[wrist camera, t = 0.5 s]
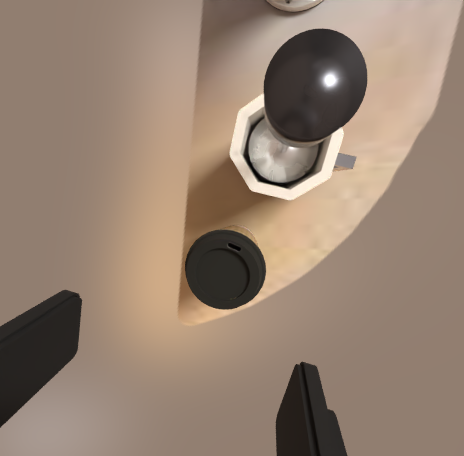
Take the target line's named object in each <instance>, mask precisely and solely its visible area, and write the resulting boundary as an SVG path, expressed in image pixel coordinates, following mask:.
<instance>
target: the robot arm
mask: <svg viewBox="0 0 464 456" xmlns="http://www.w3.org/2000/svg"><path fill="white" fill-rule="evenodd" d="M266 1H267V2H269V3H270V4H271V5H272V6H274V7H276V8H278V9H280V10H284V11H296V12H297V11H302V10H306V9H309V8H311V7H313V6H315V5H317V4H318V3H320V2H321V1H323V0H266ZM287 3H289V4H287ZM81 305H82V299H81V298H80V296H79V294H77V293H74V292H71V291H68V290H63V291H61V292H59V293H57V294H56V295H54V296H52V297H50V298H49V299H47V300H45V301H43V302H42V303H40V304H38V305H37V306H35V307H33V308H31V309H30V310H28V311H26V312H25V313H23V314H21V315H19V316H18V317H16V318H14V319H12V320H11V321H9V322H7V323H5V324H4V325H2V326H0V427H1V426H2V425H3V424H4V423H6V422H7V421H8V420H9V419H10V418H11V417H12V416H13V415H14V414H15V413H16V412H17V411H18V410H19V409H20V408H21V407H22V406H23V405H24V404H25V403H27V401H29V400H30V399H31V398H32V397H33V396H34V395H35V394H36V393H37V392H38V391H39V390H40V389H41V388H42V387H43V386H44V385H45V384H46V383H47V382H48V381H50V380H51V379H52V378H53V377H54V376H55V375H56V374H57V373H58V372H59V371H60V370H61V369H62V368H63V367H64V366H65V365H66V364H67V363H68V362H69V361H71V359H73V357H74V356H75V354H76V352H77V349H78V340H79V328H80V317H81ZM276 446H277V456H347V453H346V450H345V446H344V442H343V439H342V435H341V431H340V428H339V425H338V421H337V417H336V415H335V413H334V411H332V410H329V409H327V405H326V401H325V397H324V393H323V389H322V385H321V381H320V377H319V373H318V369H317V367H316V366H315V365H311V364H308V363H305V362H301V363H300V365H298V364H296V365H295V367H294V370H293V372H292V375H291V378H290V381H289V383H288V386H287V389H286V392H285V395H284V397H283V400H282V403H281V406H280V408H279V411H278V414H277V419H276Z"/></svg>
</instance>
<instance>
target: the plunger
mask: <svg viewBox="0 0 464 456" xmlns="http://www.w3.org/2000/svg"><path fill="white" fill-rule="evenodd" d="M366 87H367V68H366V64H365V60H364V58H363V55H362V53H361V51H360V50H359V48H358V47H357V46H356V44H355V43H354V42H353V41H352V40H351V39H350V38H348V37H347V36H345V35H344V34H342V33H339V32H337V31H334V30H330V29H313V30H308V31H305V32H302V33H300V34H298V35H295V36H294V37H292V38H291V39H289V40H288V41H287V42H286V43H284V44H283V45H282V46H281V47H280V48H279V50H278V51H277V52H276V53H275V55H274V56H273V58H272V60H271V62H270V64H269V66H268V68H267V71H266V75H265V80H264V114H265V118H264V119H263V120H261V121H260V122H259V123H258V125H257V126H256V127H255V129H254V131H253V132H252V135H251V137H250V141H249V156H250V160H251V163H252V165H253V167H254V168H255V170H256V171H257V172H258V173H259V174H260V175H261V176H263V177H264V178H266V179H268V180H270V181H273V182H282V183H283V182H290V181H293V180H296V179H298V178H300V177H301V176H303V175H304V174H305V173H306V172H307V171H308V170H309V169H310V168H311V166H312V165H313V163H314V161H315V159H316V156H317V152H318V143H320V142H321V141H323V140H324V139H326V138H327V137H328V136H330V135H331V134H333V133H334V132H335V131H337V130H338V129H340V128H341V127H342V126H344V125H345V124H346V123H347V122H348V121H349V120H350V119H351V118H352V117H353V116H354V115H355V113H356V112H357V110H358V109H359V107H360V105H361V103H362V101H363V98H364V95H365V91H366Z"/></svg>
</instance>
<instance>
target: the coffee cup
mask: <svg viewBox="0 0 464 456" xmlns="http://www.w3.org/2000/svg"><path fill="white" fill-rule="evenodd" d="M185 272H186V278H187V281H188V284H189V287H190V289H191V290H192V292H193V294H194V295H195V296H196V297H197V298H198V299H199V300H200V301H201V302H203V303H204V304H206V305H208V306H210V307H213V308H216V309H233V308H237V307H239V306H242V305H244V304H246V303H248V302H249V301H251V300H252V299H253V298H254V297H255V296H256V295H257V294H258V293H259V291H260V289H261V288H262V286H263V283H264V280H265V275H266V265H265V260H264V257H263V255H262V253H261V251H260V249H259V247H258V244H257V241H256V239H255V237H254V235H253V233H252V232H251V231H250V230H249V229H248V228H246V227H244V226H241V225H233V226H229V227H226V228H223V229H221V230H215V231H211V232H208V233H206V234H204V235H202V236H201V237H200V238H199V239H197V240H196V241H195V242H194V244H193V245H192V246H191V248H190V250H189V252H188V254H187V258H186V262H185Z"/></svg>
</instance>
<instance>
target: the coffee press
mask: <svg viewBox="0 0 464 456" xmlns="http://www.w3.org/2000/svg"><path fill="white" fill-rule="evenodd" d="M239 111H240V112H238V116H237V121H236V125H235V130H234V134H233V139H232V144H231V148H230V153H229V154H230V157H231V159H232V160H233V162H234V164H235V165H236V167H237V169H238V170H239V172H240V174H241V175H242V177H243V179H244V180H245V182H246V184H247V185H248V187H249V189H250V190H252V191H253V192H258V193H262V194H266V195H270V196H274V197H278V198H283V199H287V200H293V199H295V198H297V197H299V196H300V195H302V194H304V193H305V192H307V191H309V190H311V189H312V188H314V187H316V186H317V185H319V184H321V183H323V182H324V181H326V180H328V179H329V177H331V174H332V172H333V171H340V170H348V169H353V166H354V163H355V160H356V157H355V156H350V155H346V154H341V153H338V152H339V149H340V145H341V142H342V139H343V136H344V134H342V133H344V132H343V130H342V128H340V129H338V130H337V131H335V132H334V133H333V134H331V135H330V136H328V137H327V138H326V139H324V140H323V141H321V142H320V143H318V152H317V156H316V159H315V161H314V163H313V165H312V166H311V168H310V169H309V170H308V171H307V172H306V173H305V174H304V175H303V176H301V177H300V178H298V179H296V180H293V181H290V182H283V183H282V182H273V181H270V180H268V179H266V178H264V177H263V176H261V175H260V174H259V173H258V172H257V171H256V170H255V168H254V167H253V165H252V163H251V160H250V156H249V141H250V137H251V135H252V132H253V131H254V129H255V127H256V126H257V125H258V123H259V122H260V121H261V120H263V119H264V118H265V114H264V93H263V94H261V95H260V96H259V97H257V98H256V99H254V100H253V101H252V102H250V103H249V104H247V105H246V106H245V107H243V108H242V109H240V110H239Z"/></svg>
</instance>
